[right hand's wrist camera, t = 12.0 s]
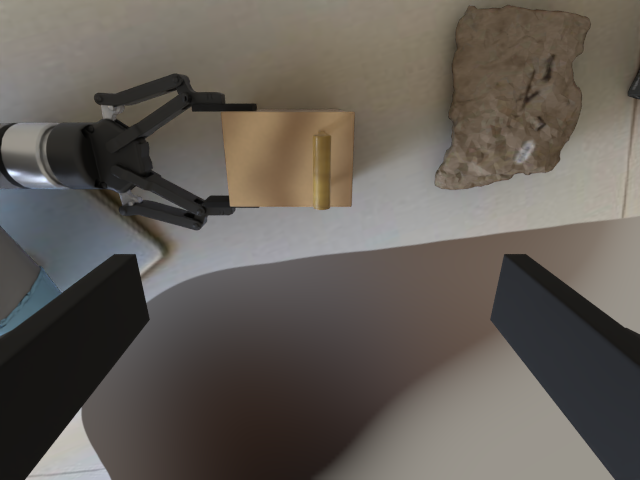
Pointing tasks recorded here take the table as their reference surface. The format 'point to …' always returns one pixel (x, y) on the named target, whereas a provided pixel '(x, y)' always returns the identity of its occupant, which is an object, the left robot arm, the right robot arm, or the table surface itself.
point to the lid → (289, 158)
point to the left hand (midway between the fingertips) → (257, 156)
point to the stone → (511, 94)
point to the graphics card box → (635, 88)
